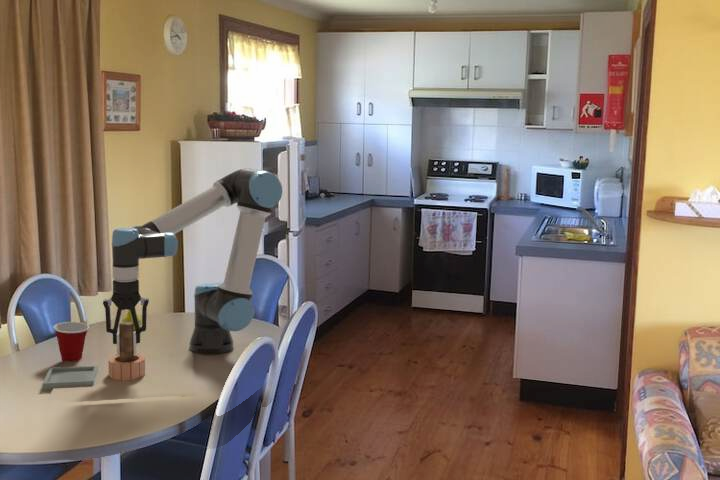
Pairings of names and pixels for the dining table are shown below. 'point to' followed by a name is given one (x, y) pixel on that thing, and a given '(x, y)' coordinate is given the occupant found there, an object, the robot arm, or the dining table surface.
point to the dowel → (126, 341)
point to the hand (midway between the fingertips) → (126, 353)
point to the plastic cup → (71, 339)
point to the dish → (70, 376)
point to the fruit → (129, 318)
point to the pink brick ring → (126, 368)
